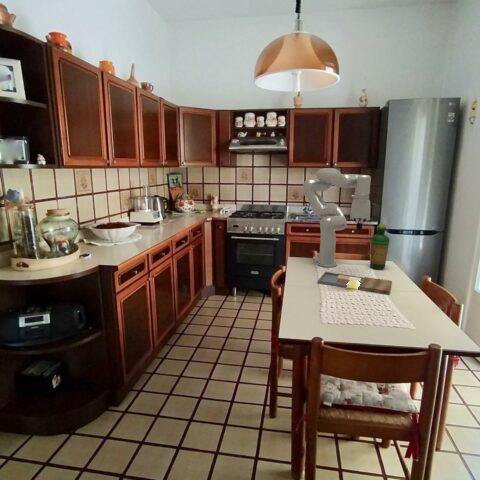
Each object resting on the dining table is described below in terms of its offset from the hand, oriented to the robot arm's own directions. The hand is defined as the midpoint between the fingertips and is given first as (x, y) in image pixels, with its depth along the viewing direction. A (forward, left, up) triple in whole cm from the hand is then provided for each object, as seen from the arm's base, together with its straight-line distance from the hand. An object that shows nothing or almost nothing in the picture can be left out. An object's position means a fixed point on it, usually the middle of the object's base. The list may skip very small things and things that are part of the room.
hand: (358, 230), depth 193 cm
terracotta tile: (-4, -15, -27) cm, 31 cm away
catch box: (-5, -15, -27) cm, 31 cm away
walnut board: (+13, -15, -27) cm, 34 cm away
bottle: (+10, +23, -27) cm, 37 cm away
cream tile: (+2, -15, -27) cm, 31 cm away
